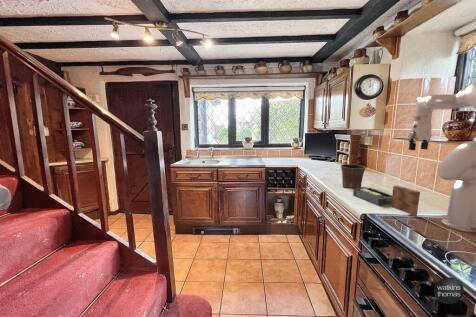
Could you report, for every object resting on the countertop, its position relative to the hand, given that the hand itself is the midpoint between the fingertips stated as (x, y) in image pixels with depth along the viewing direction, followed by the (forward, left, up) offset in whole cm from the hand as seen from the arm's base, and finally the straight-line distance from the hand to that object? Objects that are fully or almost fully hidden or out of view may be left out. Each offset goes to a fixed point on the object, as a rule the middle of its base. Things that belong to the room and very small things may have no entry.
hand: (417, 149), depth 127 cm
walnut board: (-8, +16, -32) cm, 37 cm away
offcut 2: (+7, +20, -31) cm, 38 cm away
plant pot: (+37, +9, -33) cm, 50 cm away
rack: (+10, +17, -32) cm, 38 cm away
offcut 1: (+13, +20, -31) cm, 40 cm away
